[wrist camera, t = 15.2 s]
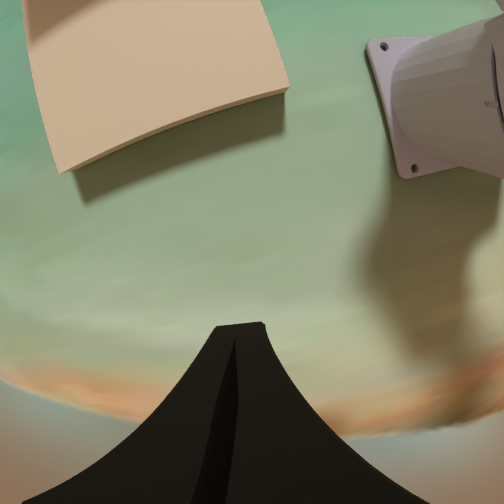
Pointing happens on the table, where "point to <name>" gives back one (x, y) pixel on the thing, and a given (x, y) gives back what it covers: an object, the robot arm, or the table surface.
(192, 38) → the board
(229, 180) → the table surface
